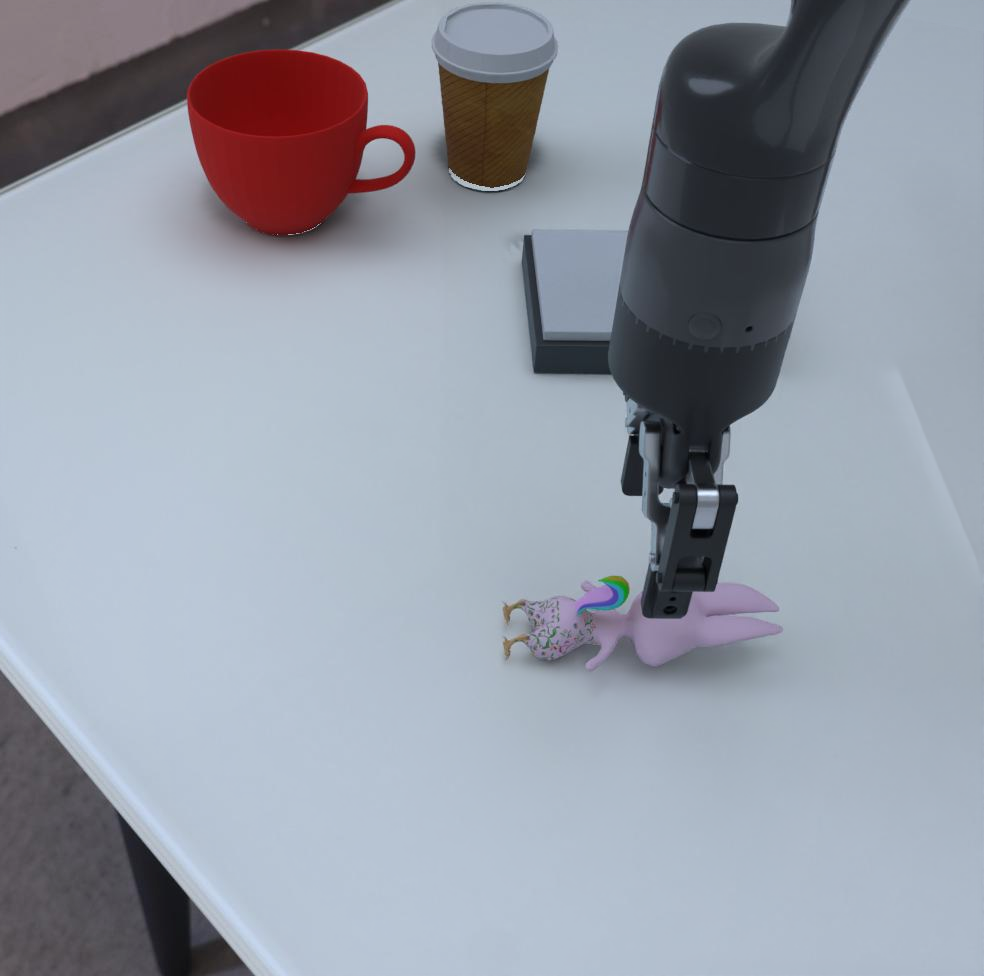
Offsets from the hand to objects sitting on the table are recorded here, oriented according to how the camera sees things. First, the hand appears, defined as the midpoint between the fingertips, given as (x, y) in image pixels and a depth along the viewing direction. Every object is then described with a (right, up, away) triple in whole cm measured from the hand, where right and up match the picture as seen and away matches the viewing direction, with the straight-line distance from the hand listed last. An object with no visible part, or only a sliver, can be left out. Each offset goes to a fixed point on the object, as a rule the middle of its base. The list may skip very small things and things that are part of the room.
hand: (650, 549), depth 67 cm
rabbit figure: (0, -5, +6) cm, 8 cm away
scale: (+3, +16, +26) cm, 31 cm away
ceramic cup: (-21, +25, +34) cm, 47 cm away
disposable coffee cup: (-7, +30, +39) cm, 50 cm away
